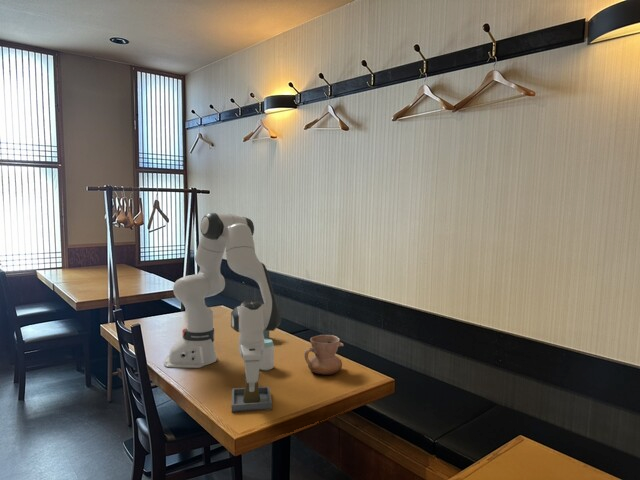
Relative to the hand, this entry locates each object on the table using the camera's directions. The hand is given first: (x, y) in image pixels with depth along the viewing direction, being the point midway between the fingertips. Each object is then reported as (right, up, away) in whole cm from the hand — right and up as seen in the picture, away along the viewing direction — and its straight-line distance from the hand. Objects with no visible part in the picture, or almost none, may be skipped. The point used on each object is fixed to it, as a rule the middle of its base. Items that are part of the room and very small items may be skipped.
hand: (251, 385), depth 158 cm
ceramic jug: (+26, -4, +31) cm, 40 cm away
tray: (0, -6, +1) cm, 6 cm away
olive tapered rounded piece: (0, -6, +1) cm, 6 cm away
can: (+1, -4, +33) cm, 33 cm away
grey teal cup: (-6, 0, +73) cm, 74 cm away
